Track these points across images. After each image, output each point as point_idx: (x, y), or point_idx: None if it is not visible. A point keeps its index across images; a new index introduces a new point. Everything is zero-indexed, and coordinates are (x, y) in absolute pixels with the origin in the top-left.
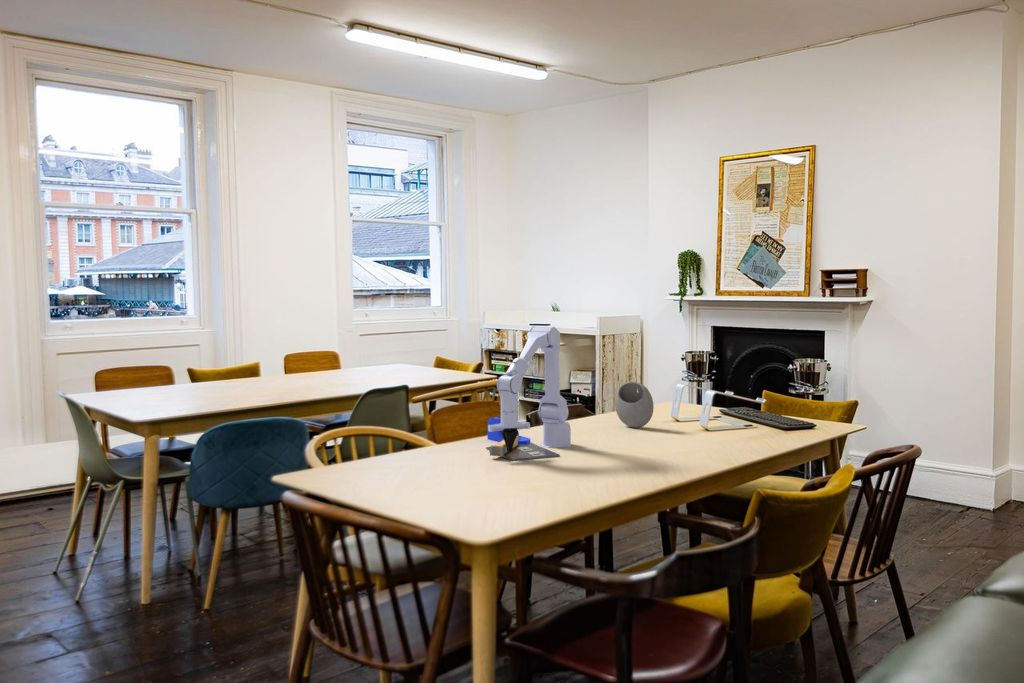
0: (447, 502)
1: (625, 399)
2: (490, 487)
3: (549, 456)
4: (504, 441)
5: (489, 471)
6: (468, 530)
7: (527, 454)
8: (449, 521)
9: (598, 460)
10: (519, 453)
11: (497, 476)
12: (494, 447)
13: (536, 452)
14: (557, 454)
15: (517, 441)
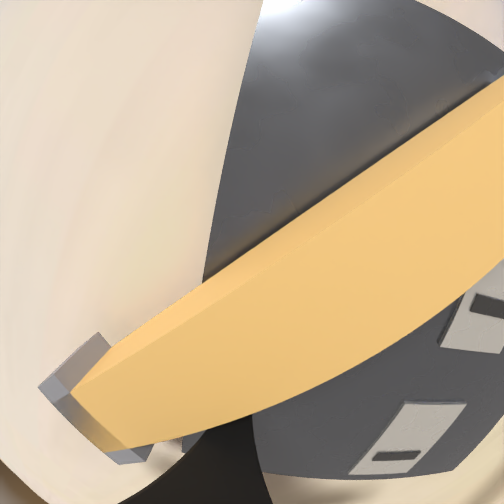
0: (8, 454)
1: None
2: (57, 480)
3: (409, 474)
4: (307, 316)
5: (63, 439)
6: (36, 492)
7: (365, 432)
8: (20, 475)
9: (459, 497)
10: (355, 389)
11: (78, 471)
12: (71, 416)
13: (438, 424)
14: (452, 466)
15: None
